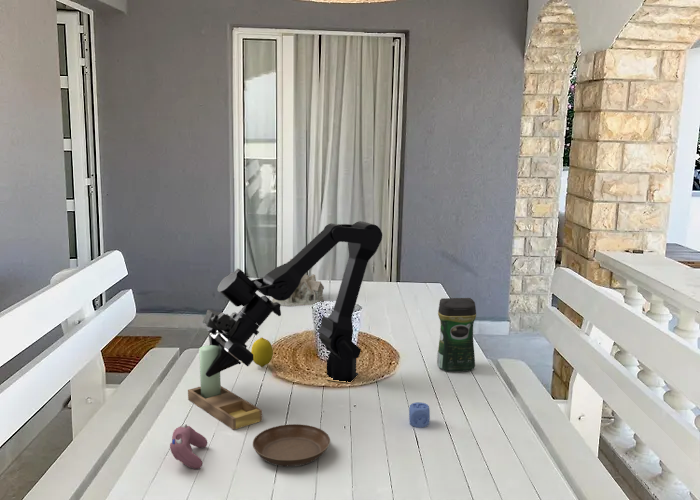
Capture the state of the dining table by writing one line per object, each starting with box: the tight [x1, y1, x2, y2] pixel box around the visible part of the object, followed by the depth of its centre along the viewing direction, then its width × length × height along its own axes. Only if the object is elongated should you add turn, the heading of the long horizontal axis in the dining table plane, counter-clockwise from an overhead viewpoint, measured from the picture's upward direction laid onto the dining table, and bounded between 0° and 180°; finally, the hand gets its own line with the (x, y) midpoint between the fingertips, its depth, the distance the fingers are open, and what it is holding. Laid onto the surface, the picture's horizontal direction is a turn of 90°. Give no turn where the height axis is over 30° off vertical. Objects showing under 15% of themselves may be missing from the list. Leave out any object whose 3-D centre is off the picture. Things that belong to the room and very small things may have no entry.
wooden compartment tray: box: [187, 385, 263, 431], centre depth 151 cm, size 20×7×2 cm, turn 40°
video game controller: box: [169, 424, 208, 470], centre depth 129 cm, size 10×5×7 cm, turn 5°
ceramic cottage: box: [271, 258, 325, 307], centre depth 241 cm, size 16×16×15 cm
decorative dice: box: [408, 402, 431, 429], centre depth 145 cm, size 4×4×4 cm
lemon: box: [250, 336, 274, 368], centre depth 177 cm, size 6×6×8 cm
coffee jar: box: [436, 297, 477, 373], centre depth 176 cm, size 10×8×19 cm
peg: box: [198, 344, 222, 399], centre depth 154 cm, size 4×4×12 cm
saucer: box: [252, 423, 331, 468], centre depth 132 cm, size 15×15×3 cm
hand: (204, 372), depth 153 cm, fingers closed on peg, 4 cm apart
